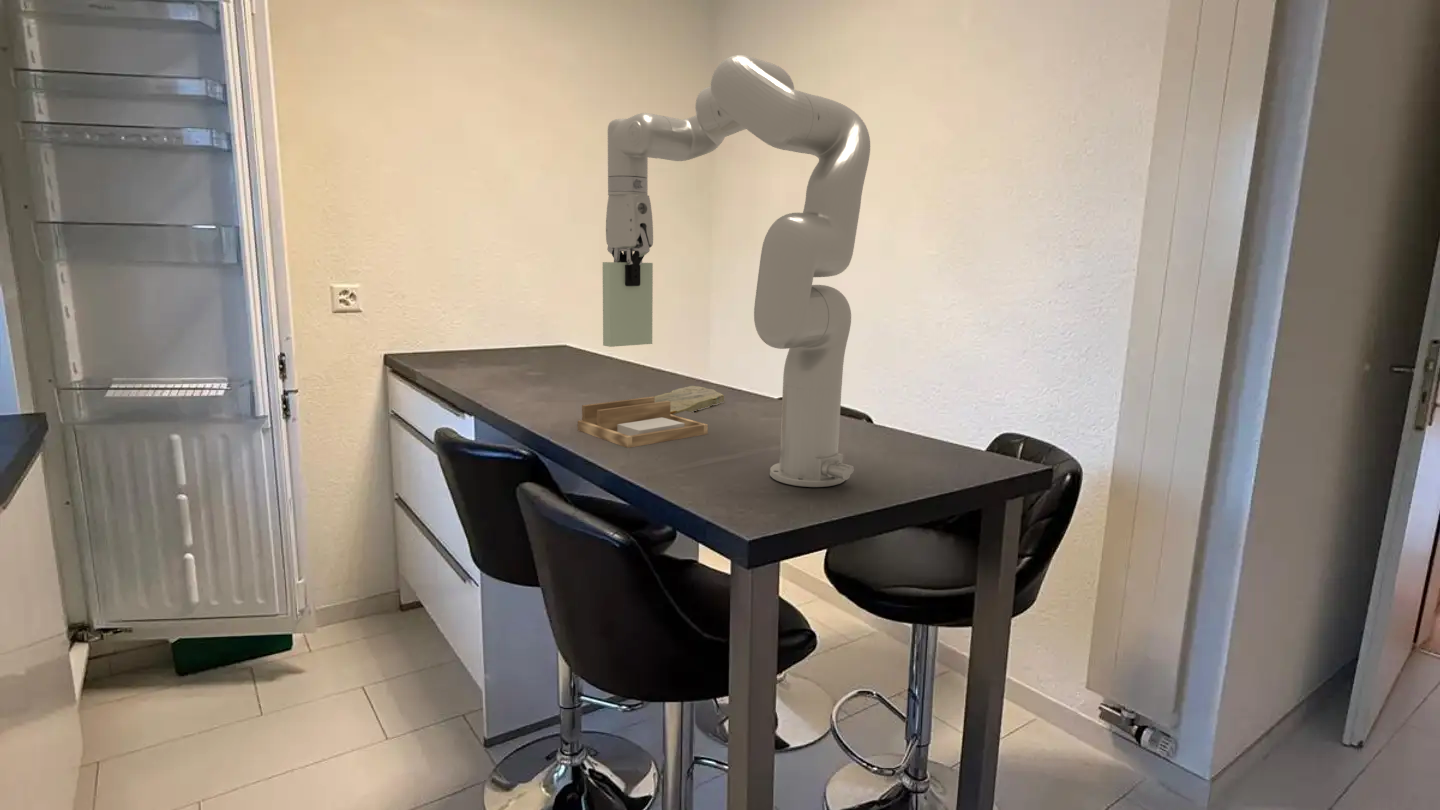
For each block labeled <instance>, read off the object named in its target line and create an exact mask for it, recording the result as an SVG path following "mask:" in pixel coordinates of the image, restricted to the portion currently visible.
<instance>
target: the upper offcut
mask: <svg viewBox="0 0 1440 810" xmlns="http://www.w3.org/2000/svg"><path fill="white" fill-rule="evenodd" d="M681 427H685V423H682V422H678V421H674V420H670V419H667V418H663V417H661V418H655V419H649V420H642V421H636V422H629V423H623V424H617V431H618V432H619V433H622V434H625V435H628V436H631V435H637V434H644V433H650V432H656V431H662V430H668V429H675V428H681Z"/></svg>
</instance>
